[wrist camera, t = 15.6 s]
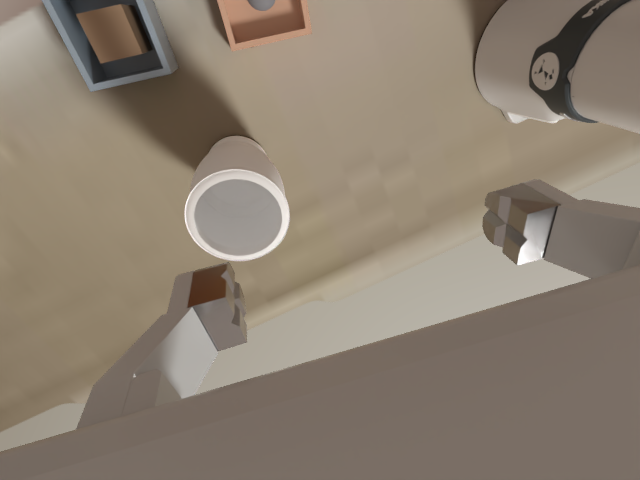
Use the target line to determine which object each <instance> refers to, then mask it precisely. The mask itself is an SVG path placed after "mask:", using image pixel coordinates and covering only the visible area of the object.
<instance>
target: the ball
mask: <svg viewBox="0 0 640 480" xmlns="http://www.w3.org/2000/svg"><path fill="white" fill-rule="evenodd" d="M247 1H248V2H249V4H250V5H251V6H252V7H253V8H254V9H256V10H259V11H266V10H268V9H270V8H271V7H272V6H273V5H274V3H275V0H247Z"/></svg>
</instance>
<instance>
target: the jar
mask: <svg viewBox="0 0 640 480" xmlns="http://www.w3.org/2000/svg"><path fill="white" fill-rule="evenodd" d="M185 222H186V226H187V229H188V231H189V233H190V235H191V237H192V238H193V240H194V241H195V242H196V243H197V244H198V245H199V246H200V247H201V248H202V249H203V250H205V251H206V252H208V253H210V254H211V255H213V256H216V257H218V258H221V259H225V260H230V261H248V260H253V259H256V258H259V257H262V256H264V255H266V254H268V253H269V252H271V251H272V250H274V249H275V248H276V247H277V246H278V245H279V244H280V243H281V241H282V240H283V239H284V237H285V235H286V233H287V230H288V227H289V223H290V211H289V205H288V202H287V199H286V197H285V191H284V186H283V182H282V179H281V177H280V174H279V172H278V170H277V169H276V167H275V166H274V164H273V163H272V162H271V160H270V159H269V158H268V156H267V155H266V153H265V151H264V150H263V148H262V147H261V146H260V145H259V144H258V143H256V142H255V141H253V140H251V139H249V138H247V137H243V136H229V137H226V138H223V139H221V140H219V141H218V142H217V143H215V144H214V145H213V147H212V148H211V150H210V151H209V153H208V154H207V155H206V156H205V157H204V159H203V160H202V161H201V162H200V164H199V165H198V167H197V169H196V171H195V173H194V176H193V179H192V183H191V188H190V194H189V196H188V199H187V202H186V206H185Z"/></svg>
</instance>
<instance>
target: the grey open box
mask: <svg viewBox="0 0 640 480" xmlns="http://www.w3.org/2000/svg"><path fill="white" fill-rule="evenodd" d="M42 2H43V4H44V5H45V7H46V9H47V11H48V13H49V15H50V17H51V19H52V20H53V22H54V24H55V26H56V28H57V30H58V32H59V34H60V35H61V37H62V39H63V41H64V43H65V45H66V47H67V49H68V50H69V52H70V54H71V56H72V58H73V60H74V62H75V64H76V65H77V67H78V69H79V71H80V73H81V75H82V77H83V79H84V80H85V82H86V84H87V86H88V88H89V90H90V92H92V91H97V90H101V89H106V88H110V87H115V86H119V85H123V84H128V83H132V82H137V81H141V80H146V79H150V78H155V77H159V76H164V75H168V74H172V73H173V72H174V71H175V70H177V69H178V68H179V67H178V64H177V62H176V59H175V56H174V54H173V51H172V49H171V46H170V43H169V41H168V38H167V35H166V33H165V30H164V27H163V25H162V22H161V19H160V17H159V14H158V11H157V9H156V6H155V3H154V1H153V0H42ZM119 4H124V5H132V6H135V8H136V11H137V13H138V15H139V18H140V20H141V23H142V25H143V27H144V30H145V32H146V35H147V37H148V39H149V42H150V44H151V46H152V49H153V50H151V51H148V52H146V53H143V54H139V55H135V56H131V57H127V58H122V59H118V60H114V61H110V62H105V63H100V61H99V59H98V57H97V55H96V53H95V51H94V49H93V47H92V45H91V43H90V41H89V39H88V37H87V35H86V33H85V31H84V30H83V28H82V26H81V24H80V22H79V20H78V18H77V16H76V14H79V13H83V12H88V11H92V10H97V9H101V8H105V7H110V6H114V5H119Z"/></svg>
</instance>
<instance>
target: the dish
mask: <svg viewBox="0 0 640 480" xmlns="http://www.w3.org/2000/svg"><path fill="white" fill-rule="evenodd" d="M217 2H218V5H219V9H220V12H221V15H222V19H223V22H224V26H225V29H226V33H227V36H228V40H229V43H230V47H231V50H232V51H236V50H240V49H245V48H249V47H254V46H258V45H263V44H267V43H272V42H276V41H281V40H285V39H290V38H294V37H298V36H303V35H307V34H312V30H311V24H310V18H309V12H308V6H307V0H275V3H274V5H273V6H272V7H271V8H270V9H268V10H266V11H259V10H256V9H254V8H253V7H252V6H251V5H250V4H249V2H248V1H247V0H217Z"/></svg>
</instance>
